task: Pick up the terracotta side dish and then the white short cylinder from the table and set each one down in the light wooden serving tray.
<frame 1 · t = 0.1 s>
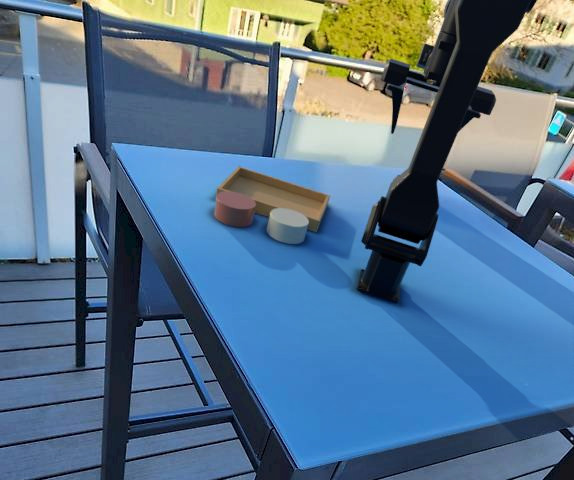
hand: (416, 141, 86), 15 cm above the table, tool pointing down, fingers open, 9 cm apart
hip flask: (411, 199, 108), on the table
white short cylinder: (285, 234, 80), on the table
serving tray: (274, 203, 88), on the table
terracotta dish: (233, 217, 80), on the table
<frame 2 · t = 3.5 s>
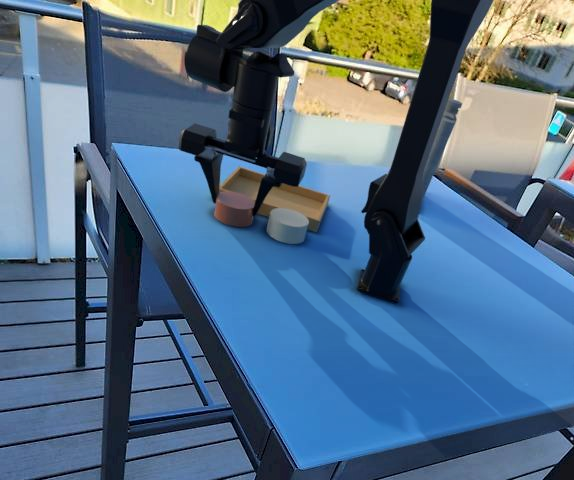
hand: (235, 208, 79), 2 cm above the table, tool pointing down, fingers closed on terracotta dish, 6 cm apart
terracotta dish: (233, 217, 80), on the table, touching gripper
everything else where it was.
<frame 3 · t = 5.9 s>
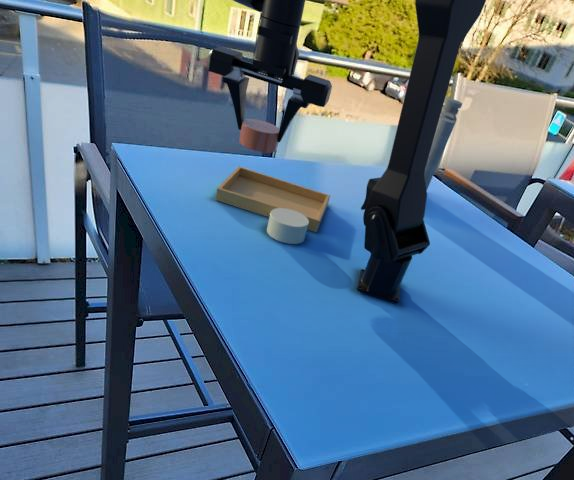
hand: (259, 135, 80), 11 cm above the table, tool pointing down, fingers closed on terracotta dish, 6 cm apart
terracotta dish: (257, 145, 81), point 9 cm above the table, touching gripper
everything else where it was.
when the fingers open (2 cm above the table, at t = 8.5 s): terracotta dish stays where it is, resting on serving tray.
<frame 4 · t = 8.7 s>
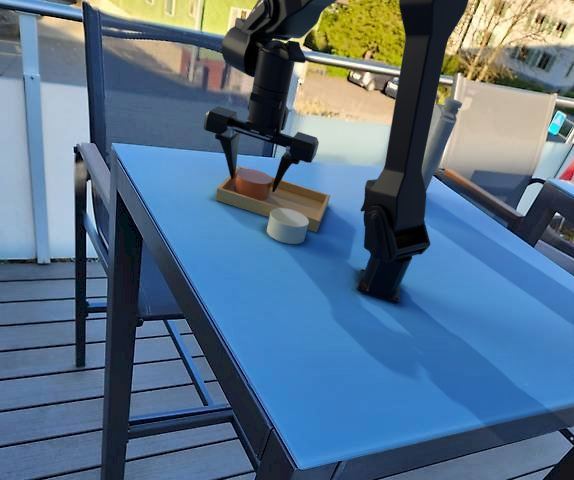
hand: (253, 184, 87), 2 cm above the table, tool pointing down, fingers open, 7 cm apart
terracotta dish: (251, 192, 88), point 1 cm above the table, touching serving tray
everything else where it was.
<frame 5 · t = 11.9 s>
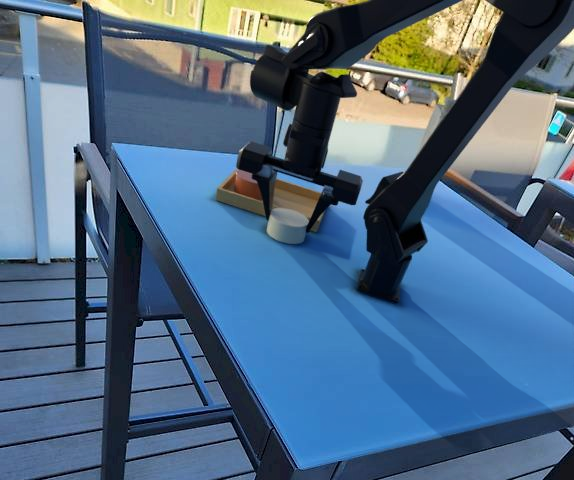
hand: (287, 225, 79), 2 cm above the table, tool pointing down, fingers closed on white short cylinder, 6 cm apart
white short cylinder: (285, 234, 80), on the table, touching gripper
everything else where it was.
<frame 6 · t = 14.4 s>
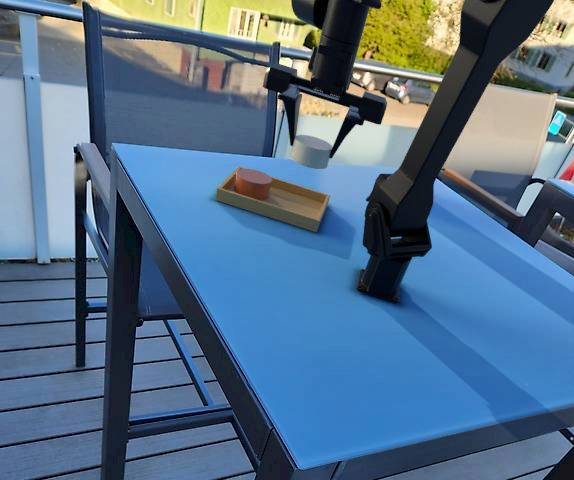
hand: (311, 151, 80), 11 cm above the table, tool pointing down, fingers closed on white short cylinder, 6 cm apart
white short cylinder: (309, 161, 81), point 9 cm above the table, touching gripper
everything else where it was.
when the fingers open (2 cm above the table, at t = 17.1 s): white short cylinder stays where it is, resting on serving tray.
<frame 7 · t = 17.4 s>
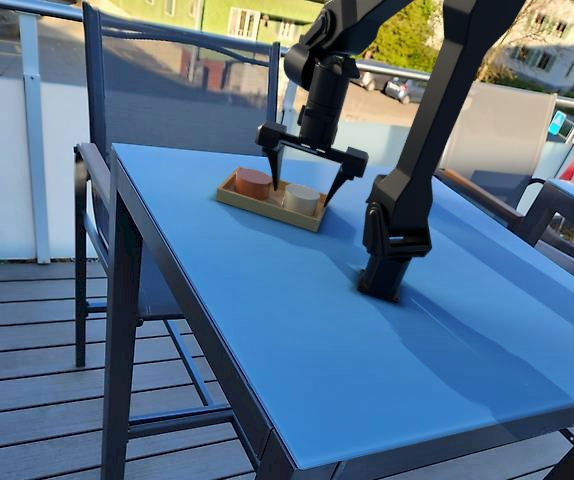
hand: (300, 198, 87), 2 cm above the table, tool pointing down, fingers open, 9 cm apart
white short cylinder: (298, 207, 88), point 1 cm above the table, touching serving tray
everything else where it was.
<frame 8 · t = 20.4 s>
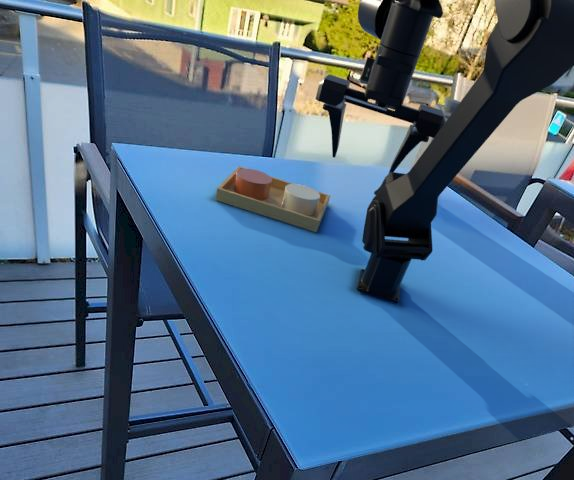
hand: (361, 165, 77), 12 cm above the table, tool pointing down, fingers open, 9 cm apart
nothing on the table moved.
at the end: terracotta dish inside the target area in the serving tray (4.5 cm from its centre), point 0.6 cm above the serving tray's base; white short cylinder inside the target area in the serving tray (4.5 cm from its centre), point 0.6 cm above the serving tray's base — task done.
